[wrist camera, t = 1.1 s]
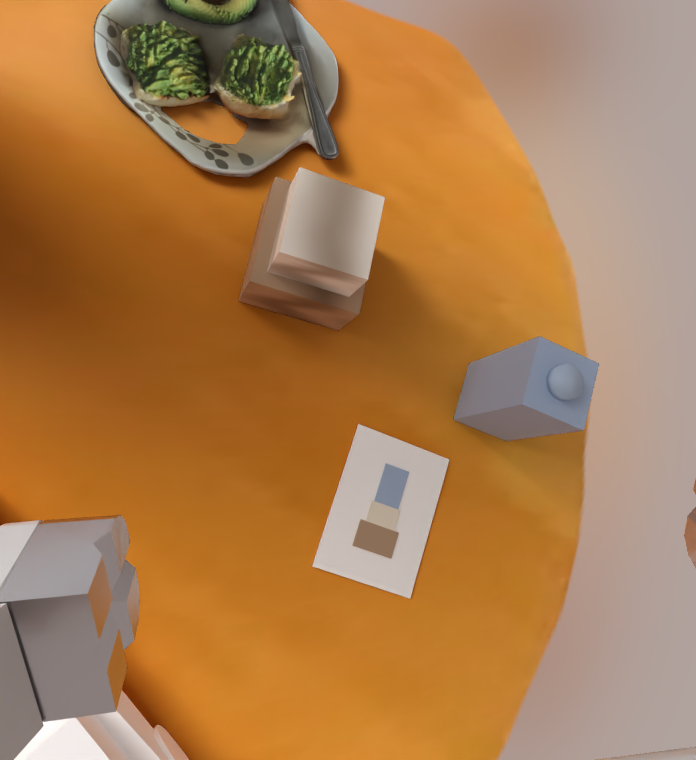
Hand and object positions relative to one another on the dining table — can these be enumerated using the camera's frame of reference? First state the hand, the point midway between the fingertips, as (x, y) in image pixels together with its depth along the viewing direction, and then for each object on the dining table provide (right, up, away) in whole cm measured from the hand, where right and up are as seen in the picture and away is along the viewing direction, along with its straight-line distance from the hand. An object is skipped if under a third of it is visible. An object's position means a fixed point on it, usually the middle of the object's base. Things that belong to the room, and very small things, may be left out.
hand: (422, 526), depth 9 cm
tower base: (-5, +11, +41) cm, 43 cm away
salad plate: (-11, +27, +43) cm, 52 cm away
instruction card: (+2, -8, +40) cm, 41 cm away
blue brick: (+10, 0, +45) cm, 46 cm away
